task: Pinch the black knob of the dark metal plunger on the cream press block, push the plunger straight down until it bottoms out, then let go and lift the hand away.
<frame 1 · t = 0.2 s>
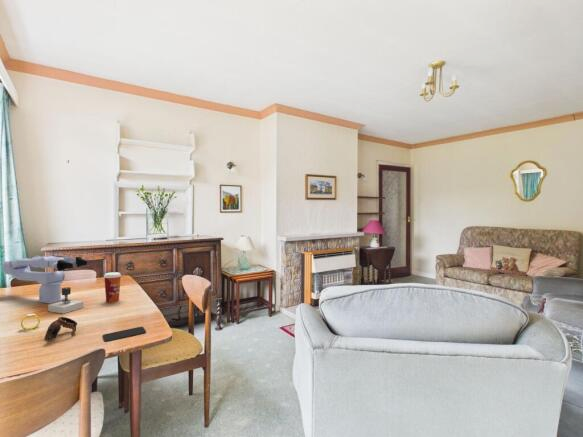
hand: (79, 264, 157), 21 cm above the table, tool horizontal, fingers open, 7 cm apart
plunger: (66, 295, 151), point 7 cm above the table, slide at 0.0 cm
brown curved piece: (59, 337, 121), on the table
coffee cup: (112, 301, 166), on the table
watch: (30, 328, 128), on the table
phone: (124, 335, 124), on the table
press block: (66, 309, 152), on the table
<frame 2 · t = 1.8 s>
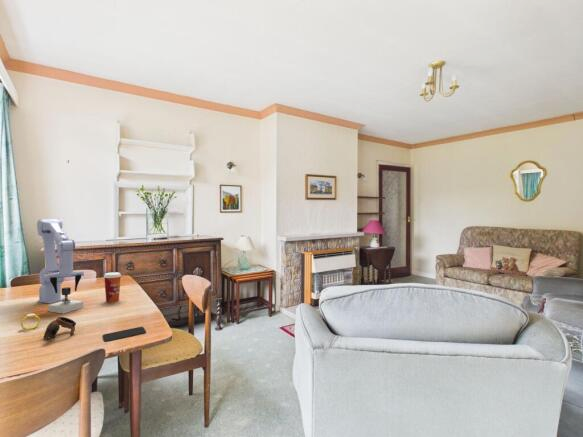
hand: (66, 291, 151), 9 cm above the table, tool pointing down, fingers open, 7 cm apart
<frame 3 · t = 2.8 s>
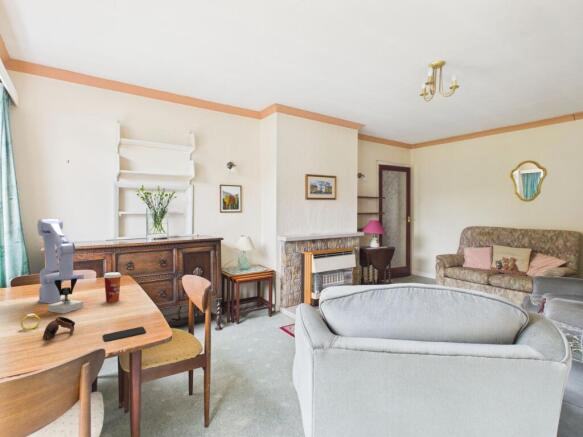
hand: (66, 294, 151), 7 cm above the table, tool pointing down, fingers closed on plunger, 4 cm apart
plunger: (66, 295, 151), point 7 cm above the table, slide at 0.0 cm, touching gripper
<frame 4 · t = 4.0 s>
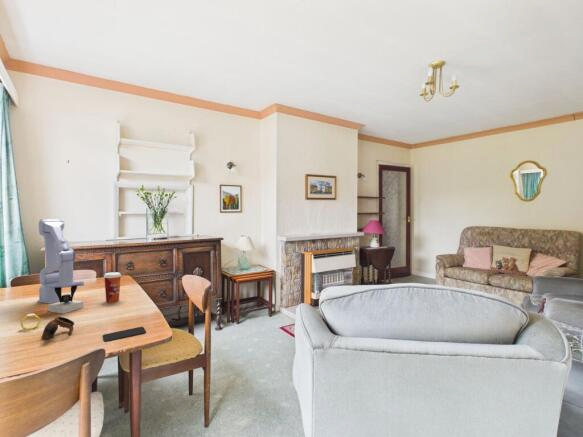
hand: (66, 301, 151), 4 cm above the table, tool pointing down, fingers closed on plunger, 4 cm apart
plunger: (66, 302, 152), point 4 cm above the table, slide at 3.5 cm, touching gripper
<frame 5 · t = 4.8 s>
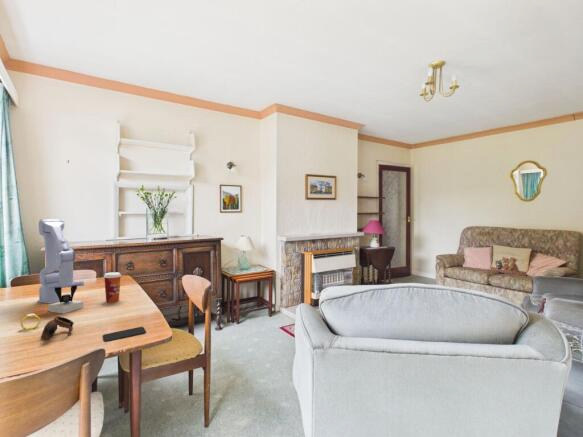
hand: (66, 301, 151), 4 cm above the table, tool pointing down, fingers closed on plunger, 4 cm apart
plunger: (66, 302, 152), point 4 cm above the table, slide at 3.5 cm, touching gripper
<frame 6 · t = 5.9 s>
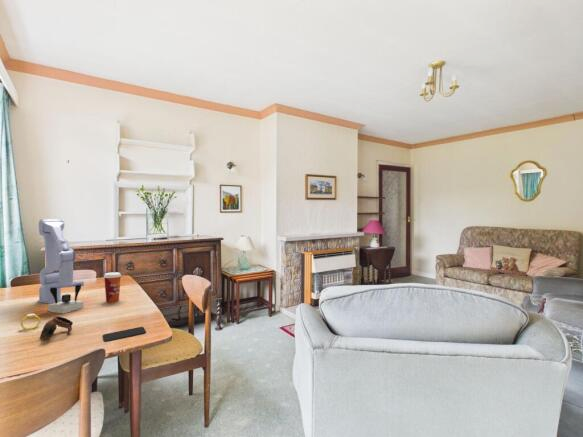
hand: (66, 301, 152), 4 cm above the table, tool pointing down, fingers open, 7 cm apart
plunger: (66, 302, 152), point 4 cm above the table, slide at 3.5 cm
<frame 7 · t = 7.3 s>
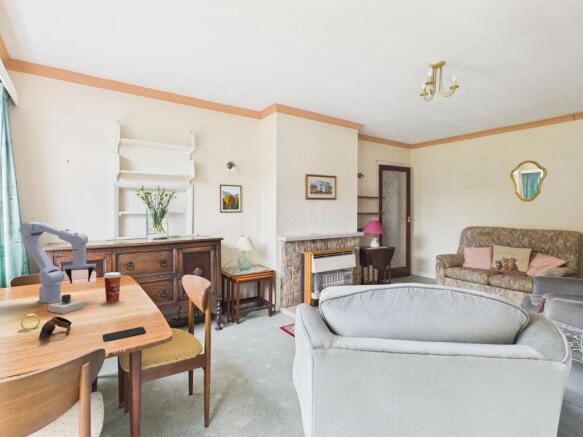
hand: (80, 282, 163), 10 cm above the table, tool pointing down, fingers open, 7 cm apart
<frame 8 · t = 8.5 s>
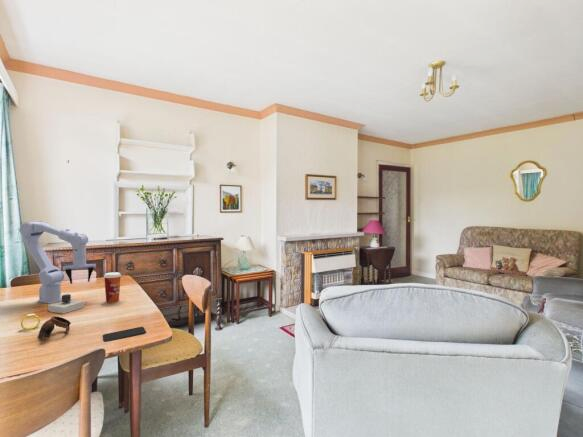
hand: (80, 282, 163), 10 cm above the table, tool pointing down, fingers open, 7 cm apart
at the end: plunger slide at 3.5 cm; the gripper is holding nothing; coffee cup moved 0.2 cm from its start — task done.
